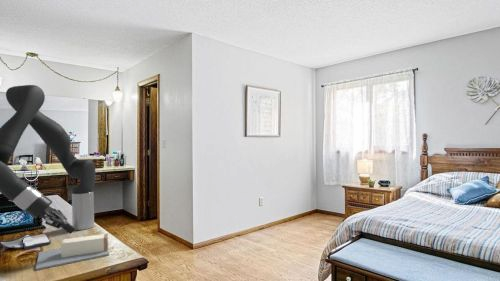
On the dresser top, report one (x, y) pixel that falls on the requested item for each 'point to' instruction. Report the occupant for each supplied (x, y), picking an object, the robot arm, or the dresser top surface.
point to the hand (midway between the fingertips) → (73, 231)
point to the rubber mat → (63, 258)
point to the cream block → (84, 245)
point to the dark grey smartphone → (37, 241)
